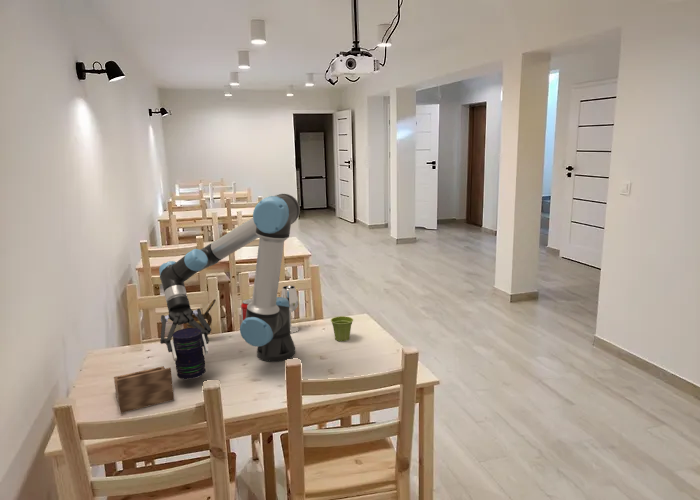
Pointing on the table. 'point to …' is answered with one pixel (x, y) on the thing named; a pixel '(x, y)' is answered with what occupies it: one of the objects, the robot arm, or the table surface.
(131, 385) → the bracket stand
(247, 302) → the soda can
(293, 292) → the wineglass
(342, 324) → the plant pot
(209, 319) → the wooden mug
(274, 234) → the robot arm
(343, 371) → the table surface
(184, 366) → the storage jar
